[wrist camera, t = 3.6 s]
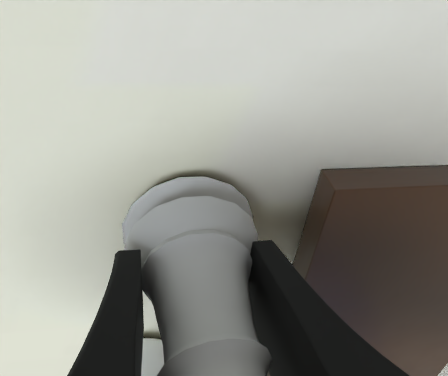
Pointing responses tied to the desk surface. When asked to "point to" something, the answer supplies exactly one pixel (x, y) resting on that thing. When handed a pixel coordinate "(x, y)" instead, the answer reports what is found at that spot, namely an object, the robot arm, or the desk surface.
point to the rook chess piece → (198, 275)
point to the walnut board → (383, 259)
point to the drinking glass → (152, 357)
